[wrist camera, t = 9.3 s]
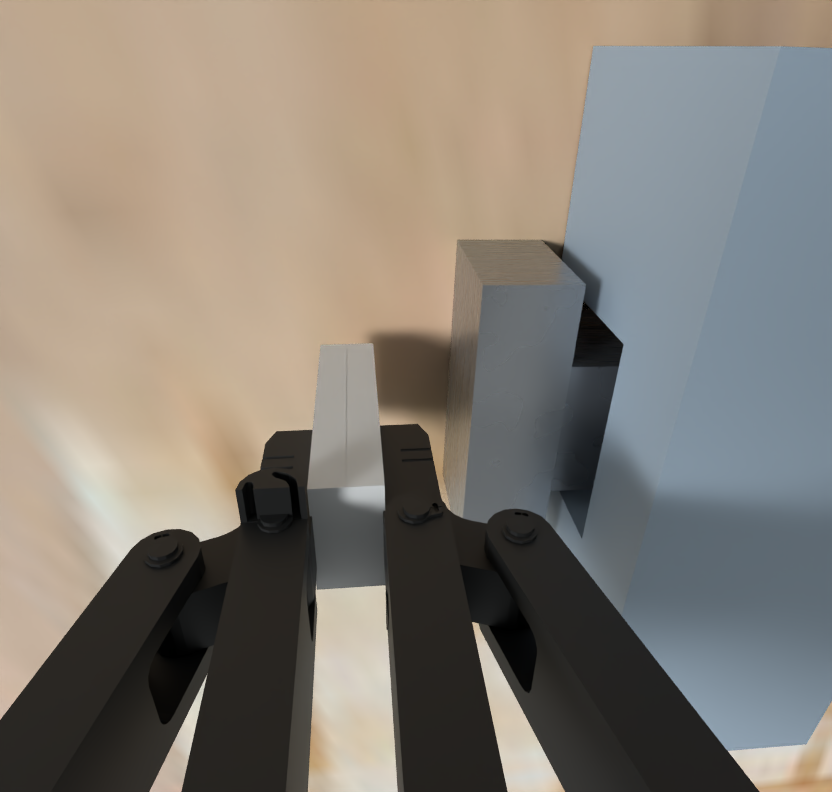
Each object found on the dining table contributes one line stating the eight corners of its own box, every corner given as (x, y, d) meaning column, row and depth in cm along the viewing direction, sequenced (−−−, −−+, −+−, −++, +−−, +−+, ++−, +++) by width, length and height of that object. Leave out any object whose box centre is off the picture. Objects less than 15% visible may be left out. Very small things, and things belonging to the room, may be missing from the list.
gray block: (456, 238, 18) (483, 285, 14) (854, 239, 19) (966, 283, 16) (442, 472, 22) (460, 551, 18) (769, 460, 23) (843, 533, 20)
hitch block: (593, 46, 16) (781, 46, 9) (849, 54, 16) (1205, 60, 9) (516, 565, 24) (580, 762, 18) (683, 556, 25) (806, 744, 18)
